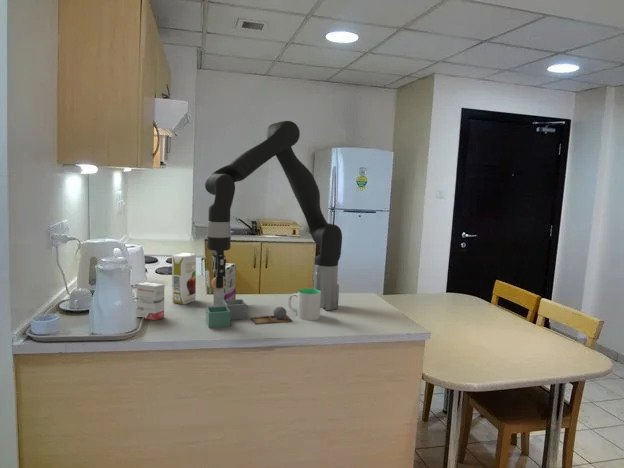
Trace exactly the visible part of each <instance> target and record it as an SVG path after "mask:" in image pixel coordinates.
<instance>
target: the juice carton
mask: <svg viewBox="0 0 624 468" xmlns="http://www.w3.org/2000/svg"><path fill="white" fill-rule="evenodd" d="M196 280H197V258H196V253H192V252H191V253H190V252H181V253H179V254H178V253H177V254H172V255H171V302H172V303H174V304H179V305H187V304H190V303H192V302H193V303H194V302H195V301H196V298H197V297H196V294H197V290H196V289H197V286H196V284H197V283H196V282H197V281H196Z"/></svg>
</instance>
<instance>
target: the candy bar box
mask: <svg viewBox="0 0 624 468" xmlns="http://www.w3.org/2000/svg"><path fill="white" fill-rule="evenodd" d="M236 269H237V265H236V263H229V262H226V267H225V276H224V277H223V279H224V280H225V286H224V287H223V288H222V289H221V290H215V289H214V288H213V307H216V306H223V300H236V298H237V297H236V296H237V295H236V294H237V293H236V292H237V290H236V288H237V287H236V279H237V277H236V274H237V272H236V271H237V270H236ZM221 272H222V270H221ZM214 274H215V273H213V275H214Z"/></svg>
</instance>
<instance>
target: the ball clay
mask: <svg viewBox="0 0 624 468" xmlns="http://www.w3.org/2000/svg"><path fill="white" fill-rule="evenodd" d="M210 284H211V287H212V289H213V290H214V289H215V290H221V289H222V288H216V277H215V278H214V277H213V278H212V279H211V283H210ZM224 286H225V280H224V279H223V287H224Z"/></svg>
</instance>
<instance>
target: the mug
mask: <svg viewBox="0 0 624 468" xmlns="http://www.w3.org/2000/svg"><path fill="white" fill-rule="evenodd" d="M320 296H321V291H320V290H317V289H314V288H301V289H298V291H297V293H296V292H295V293H292V294H290V295H289V297H288V301H287V302H288V307H289V310H291V312H293V313H296V315H297V319H299V320H303V321H316V320H319V319H320V316H321V308H320ZM293 297H296V298H297V308H296V309H295V308H294V307H293V305H292V298H293Z"/></svg>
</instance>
